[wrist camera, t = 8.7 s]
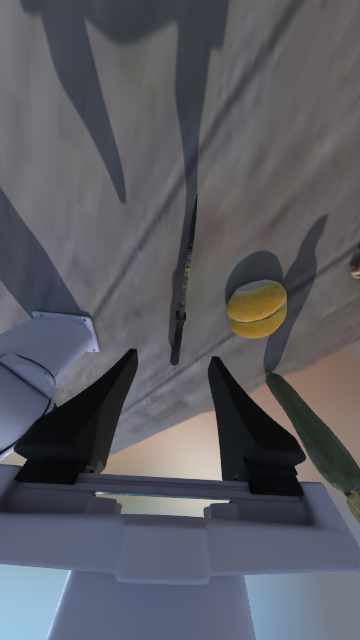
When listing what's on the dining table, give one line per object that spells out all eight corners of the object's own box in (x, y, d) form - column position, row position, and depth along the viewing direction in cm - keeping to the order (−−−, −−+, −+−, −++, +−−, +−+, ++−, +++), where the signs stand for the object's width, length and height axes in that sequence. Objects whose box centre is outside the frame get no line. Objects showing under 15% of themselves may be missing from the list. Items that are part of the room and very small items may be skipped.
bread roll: (230, 335, 24) (239, 351, 20) (221, 290, 19) (229, 301, 16) (280, 323, 22) (298, 338, 18) (281, 270, 18) (305, 277, 14)
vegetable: (257, 368, 28) (375, 569, 11) (278, 360, 27) (452, 576, 9) (263, 379, 30) (373, 566, 12) (283, 372, 28) (437, 571, 11)
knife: (188, 206, 16) (190, 185, 12) (200, 207, 16) (207, 187, 12) (171, 353, 26) (169, 373, 21) (178, 354, 26) (178, 374, 21)
